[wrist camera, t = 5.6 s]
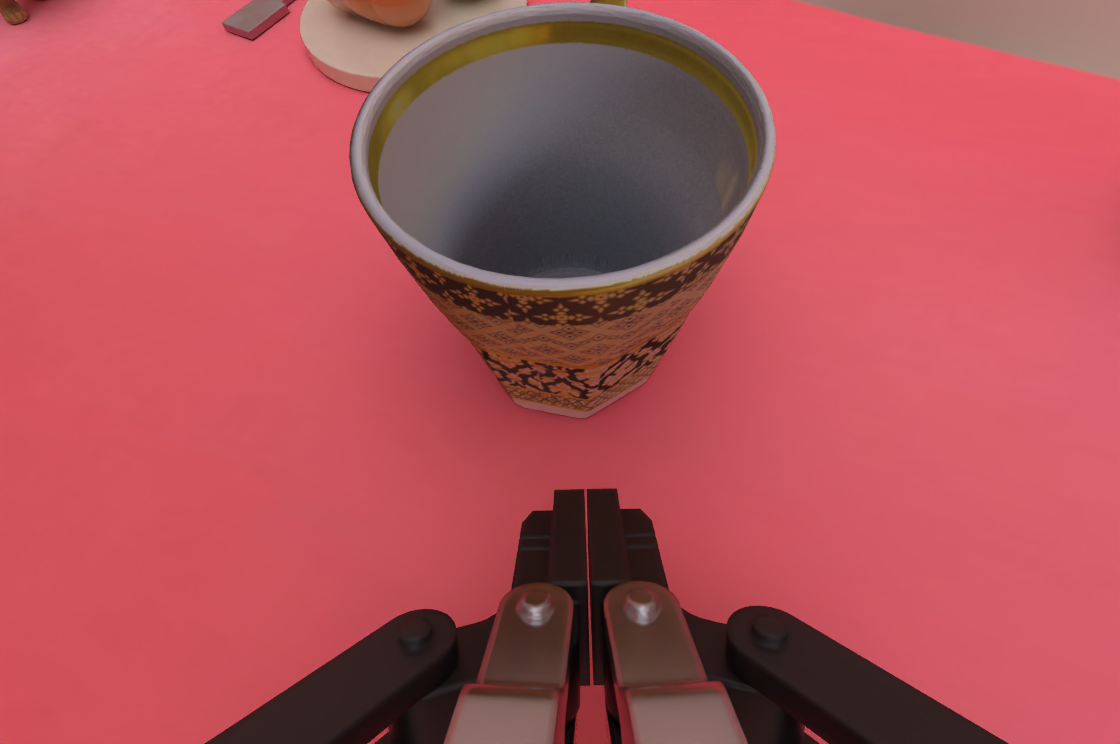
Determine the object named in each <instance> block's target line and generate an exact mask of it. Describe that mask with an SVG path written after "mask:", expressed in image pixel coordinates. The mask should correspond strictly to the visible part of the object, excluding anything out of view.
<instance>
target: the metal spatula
mask: <svg viewBox="0 0 1120 744" xmlns="http://www.w3.org/2000/svg"><path fill="white" fill-rule="evenodd" d="M292 1H294V0H253V1H251V2H250V3H248V4H247V5H246V6H244V7H243V8H241V9H240V10H239V11H237V12H236V13H235V14H233V15H232V16H230V17H229V18H228V19H226V20H225V21H223V22H222V24H223V26H224V28H225V30H226V31H228V32H231V33H234V34H237V35H239V36H242V37H245V38H248V39H251V40H253V39H255V38H256V37H257V36H259V35H260V34H261V33H263V32H264V31H265V30H266V29H268V28H269V27H270V26H272V25H273V24H274V23H276V22H277V21H278V20H280V19H281V18H282V17H284V16H285V15H286V14H287V13H289V10H288V7H287V5H288V4H290V3H291V2H292Z"/></svg>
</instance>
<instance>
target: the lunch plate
mask: <svg viewBox="0 0 1120 744" xmlns="http://www.w3.org/2000/svg"><path fill="white" fill-rule="evenodd" d="M520 6H528V4H527V0H308V1H307V3H306V4H305V6H304V8H303V11H302V13H301V17H300V34H301V39H302V41H303V43H304V45H305V48H306V50H307V52H308V54H309V56H310V58H311V60H312V62H313V63H314V64H315V66H316V67H317V68H318V69H319V70H320V71H321V72H322V73H324V74H325V75H326V76H327V77H329V78H331V79H332V80H334V81H335V82H338V83H340V84H342V85H345V86H347V87H350V88H354V89H357V90H361V91H366V92H371V90H372V89H373V87H374V86H375V84H376V83H377V82H378V81H379V80H380V79H381V78H382V76H383V75H384V74H385V73H386V72H387V71H388V70H389V69H390V68H391V67H392V66H393V65H394V64H395V63H397V62H398V61H399V60H400V59H401V58H402V57H403V56H405V55H406V54H407V53H409V52H410V51H412V50H413V49H415V48H416V47H417V46H419V45H420V44H422V43H423V42H425V41H426V40H428V39H430V38H432V37H434V36H436V35H438V34H440V33H441V32H443V31H445V30H447V29H449V28H451V27H454V26H456V25H459V24H461V23H463V22H466V21H468V20H471V19H474V18H477V17H480V16H484V15H487V14H490V13H493V12H498V11H502V10H507V9H511V8H516V7H520Z"/></svg>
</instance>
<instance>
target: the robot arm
mask: <svg viewBox="0 0 1120 744" xmlns="http://www.w3.org/2000/svg"><path fill="white" fill-rule="evenodd" d="M587 517H588V557H589V584H590V608H591V633H592V657H593V681H594V685H604V688H605V710H606V730H607V737H608V743H609V744H819V743H818V742H817V741H815V740H814V739H813V738H811V737H810V736H809V735H807V734H806V733H805V732H804V729H805V726H806V727H807V728H809V729H810V730H811V731H813V732H814V733H815V734H817V735H818V736H819V737H821V738H822V739H823V740H825V741H826V742H827V743H829V744H1008V743H1007V742H1005V741H1003V740H1002V739H1000V738H998V737H996V736H995V735H993V734H991V733H990V732H988V731H986V730H985V729H983V728H981V727H980V726H978V725H976V724H975V723H973V722H971V721H969V720H968V719H966V718H964V717H963V716H961V715H959V714H958V713H956V712H954V711H953V710H951V709H949V708H947V707H946V706H944V705H942V704H941V703H939V702H937V701H936V700H934V699H932V698H931V697H929V696H927V695H926V694H924V693H922V692H920V691H919V690H917V689H915V688H914V687H912V686H910V685H909V684H907V683H905V682H904V681H902V680H900V679H899V678H897V677H895V676H893V675H892V674H890V673H888V672H887V671H885V670H883V669H882V668H880V667H878V666H877V665H875V664H873V663H871V662H870V661H868V660H866V659H865V658H863V657H861V656H860V655H858V654H856V653H855V652H853V651H851V650H850V649H848V648H846V647H844V646H843V645H841V644H839V643H838V642H836V641H834V640H833V639H831V638H829V637H828V636H826V635H824V634H823V633H821V632H819V631H817V630H816V629H814V628H812V627H811V626H809V625H807V624H806V623H804V622H802V621H801V620H799V619H797V618H795V617H794V616H792V615H790V614H788V613H786V612H784V611H781V610H779V609H775V608H772V607H766V606H749V607H744V608H742V609H739V610H737V611H735V612H734V613H733V614H732V615H731V616H730V618H729V619H728V622H727V624H723V623H719V622H714V621H710V620H706V619H702V618H699V617H697V616H694V615H692V614H690V613H688V612H687V611H685V610H684V609H682V608H681V607H680V604H679V602H678V600H677V598H676V597H675V595H674V594H673V593H672V592H670V591H669V589H668V585H667V581H666V577H665V573H664V569H663V565H662V560H661V556H660V552H659V548H658V544H657V540H656V537H655V532H654V528H653V524H652V520H651V519H650V518H649V517H648V516H647V515H646V514H645V513H644V512H643V511H642V510H641V509H620V506H619V500H618V493H617V489H587ZM580 686H590V658H589V618H588V580H587V552H586V525H585V497H584V489H572V490H555V491H554V505H553V511H532V513H531V514H530V515H529V516H528V517H527V518H526V519H525V520H524V522H523V523H522V527H521V533H520V539H519V546H518V552H517V558H516V564H515V570H514V576H513V582H512V588H511V591H510V592H508V593H507V594H506V595H505V596H504V597H503V598H502V600H501V602H500V604H499V607H498V610H497V613H496V614H495V615H493V616H491V617H490V618H488V619H485V620H483V621H481V622H477V623H474V624H470V625H466V626H462V627H459V628H456V625H455V623H454V621H453V620H452V618H451V617H450V616H448V615H447V614H445V613H443V612H441V611H438V610H432V609H421V610H415V611H410V612H407V613H404V614H402V615H400V616H398V617H396V618H394V619H393V620H391V621H389V622H388V623H386V624H385V625H383V626H382V627H380V628H379V629H377V630H376V631H374V632H373V633H371V634H370V635H368V636H367V637H365V638H364V639H362V640H361V641H359V642H358V643H356V644H355V645H353V646H352V647H350V648H349V649H347V650H346V651H344V652H343V653H341V654H340V655H338V656H337V657H335V658H334V659H332V660H330V661H329V662H327V663H326V664H324V665H323V666H321V667H320V668H318V669H317V670H315V671H314V672H312V673H311V674H309V675H308V676H306V677H305V678H303V679H302V680H300V681H299V682H297V683H296V684H294V685H293V686H291V687H290V688H288V689H287V690H285V691H284V692H282V693H281V694H279V695H278V696H276V697H275V698H273V699H272V700H270V701H268V702H267V703H265V704H264V705H262V706H261V707H259V708H258V709H256V710H255V711H253V712H252V713H250V714H249V715H247V716H246V717H244V718H243V719H241V720H240V721H238V722H237V723H235V724H234V725H232V726H231V727H229V728H228V729H226V730H225V731H223V732H222V733H220V734H219V735H217V736H216V737H214V738H213V739H211V740H210V741H208V742H206V743H205V744H367V743H369V742H370V741H371V740H372V739H373V738H375V737H376V736H377V735H378V734H380V733H381V732H382V731H383V730H384V729H386V728H387V727H388V729H389V732H388V733H387V734H385V735H384V736H383V737H382V738H381V739H379V740H378V741H377V742H376V743H375V744H576V737H577V712H578V710H579V707H580Z"/></svg>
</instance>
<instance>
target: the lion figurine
mask: <svg viewBox="0 0 1120 744" xmlns="http://www.w3.org/2000/svg"><path fill="white" fill-rule="evenodd" d="M0 12H1V13H2V15H3V17H4V19H5V20H6V21H7V22H8V23H10V24H18V23H21V22H23V21H25V20H26V19H27V18H28V14H27V13H26V12H25V11H24V10H22V9H21V7H20V5H19V4H18V3H17V2H15V1H14V0H0Z"/></svg>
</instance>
